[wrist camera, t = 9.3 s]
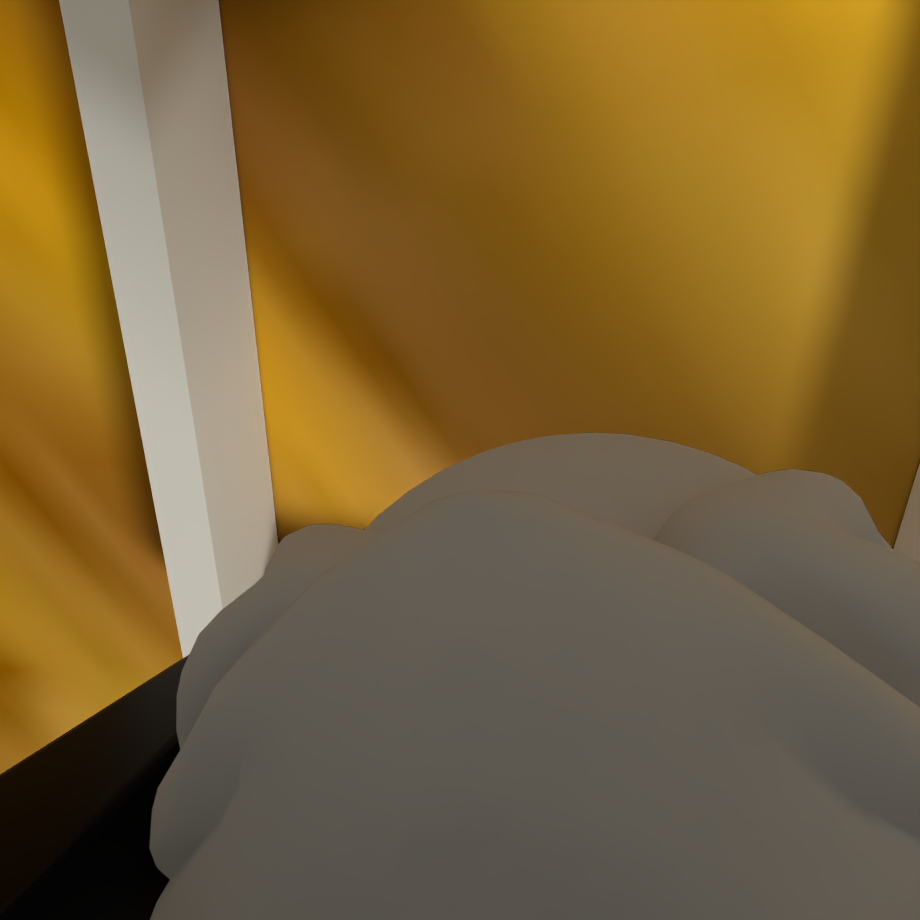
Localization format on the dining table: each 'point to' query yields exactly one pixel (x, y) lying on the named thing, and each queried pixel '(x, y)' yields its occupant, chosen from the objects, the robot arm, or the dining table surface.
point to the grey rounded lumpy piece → (559, 704)
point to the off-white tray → (191, 289)
